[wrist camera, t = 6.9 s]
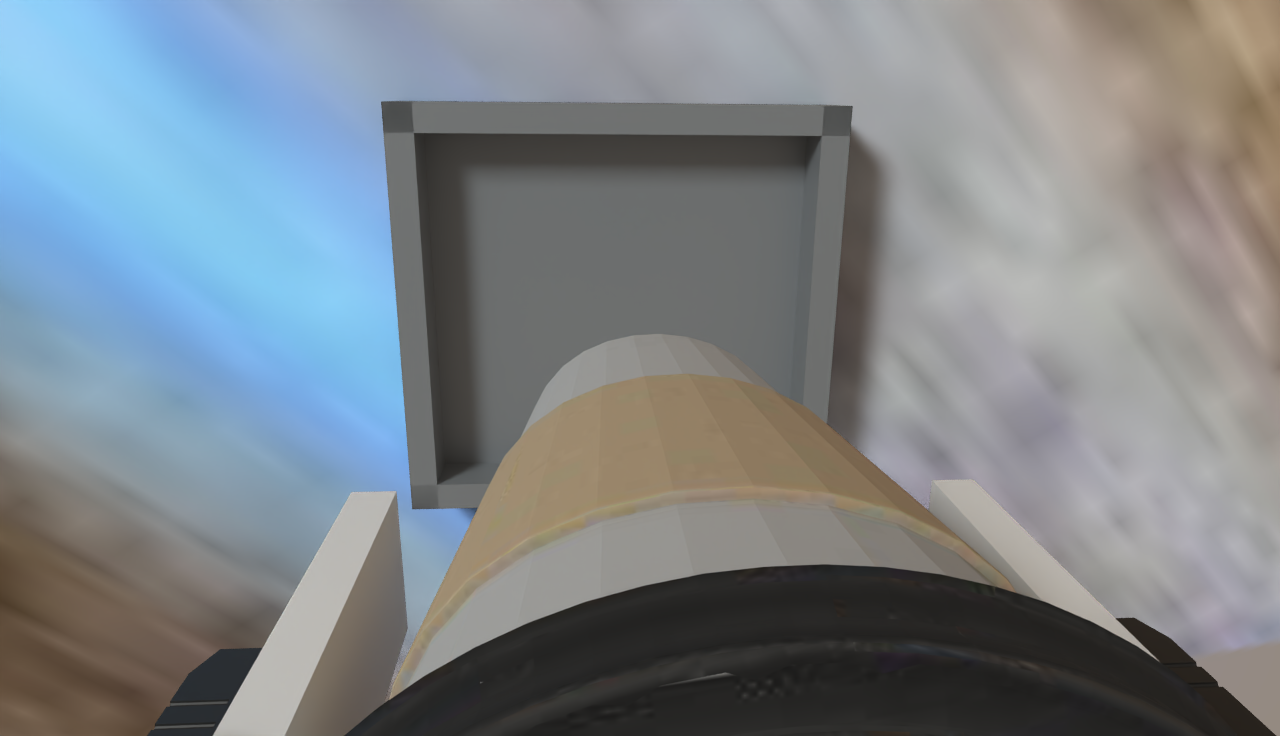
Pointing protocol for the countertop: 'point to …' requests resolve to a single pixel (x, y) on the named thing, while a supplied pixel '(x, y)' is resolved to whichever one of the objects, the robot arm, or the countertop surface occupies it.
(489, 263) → the tray
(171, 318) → the countertop surface
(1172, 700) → the coffee cup
